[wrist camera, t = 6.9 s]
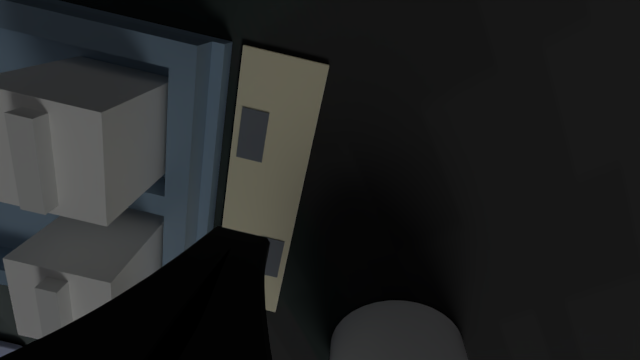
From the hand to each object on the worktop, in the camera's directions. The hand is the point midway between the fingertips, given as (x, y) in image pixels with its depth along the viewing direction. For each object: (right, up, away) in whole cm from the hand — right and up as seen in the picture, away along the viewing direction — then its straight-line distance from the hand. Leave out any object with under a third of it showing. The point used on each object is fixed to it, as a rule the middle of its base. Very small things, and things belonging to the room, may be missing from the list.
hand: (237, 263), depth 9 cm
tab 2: (-7, -1, +10) cm, 12 cm away
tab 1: (-6, +5, +7) cm, 10 cm away
